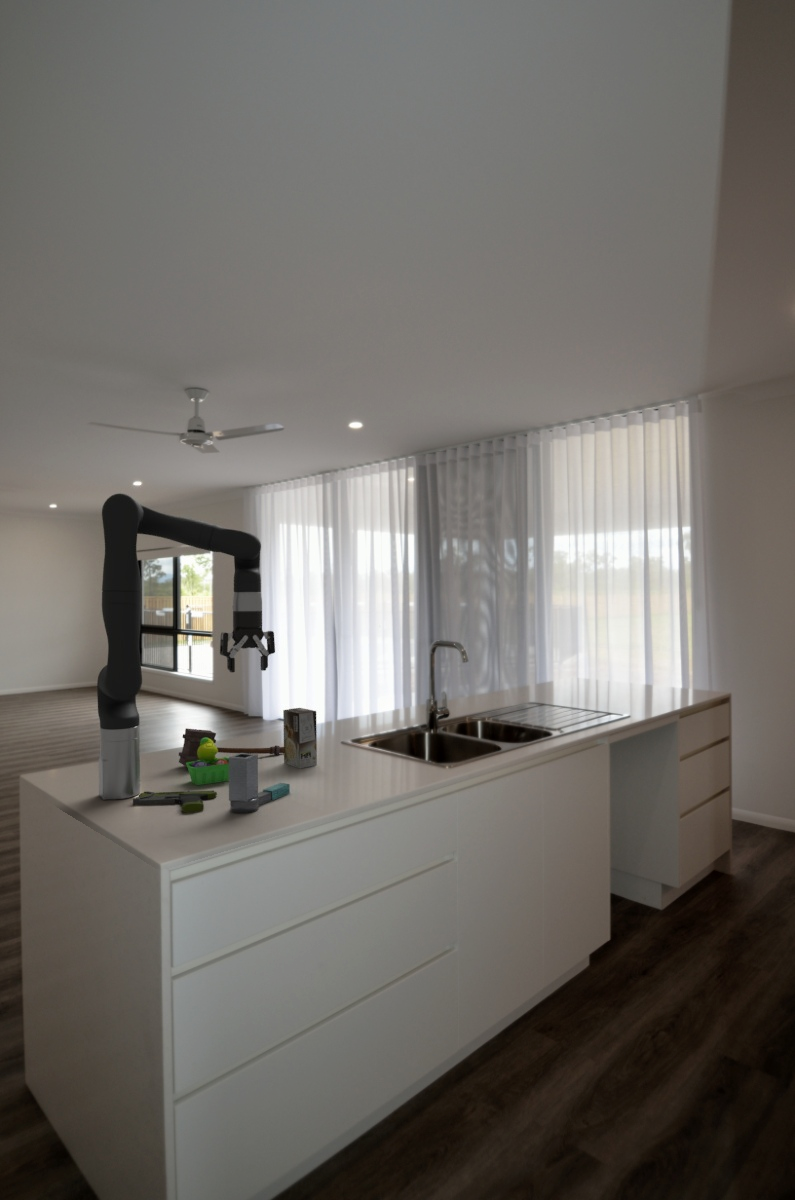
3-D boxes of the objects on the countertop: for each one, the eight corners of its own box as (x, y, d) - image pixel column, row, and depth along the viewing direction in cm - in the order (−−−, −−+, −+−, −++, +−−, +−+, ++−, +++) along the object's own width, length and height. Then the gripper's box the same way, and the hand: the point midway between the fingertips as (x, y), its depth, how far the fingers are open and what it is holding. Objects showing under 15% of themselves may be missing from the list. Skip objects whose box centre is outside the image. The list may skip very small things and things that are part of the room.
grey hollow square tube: (228, 800, 158) (228, 757, 158) (240, 794, 163) (240, 752, 163) (246, 802, 157) (246, 758, 157) (258, 796, 161) (257, 754, 161)
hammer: (176, 761, 202) (182, 727, 203) (276, 767, 220) (282, 736, 221) (183, 766, 196) (190, 731, 197) (286, 772, 214) (291, 740, 215)
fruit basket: (192, 787, 179) (192, 744, 179) (184, 779, 187) (184, 738, 187) (235, 781, 185) (235, 739, 185) (225, 774, 192) (225, 734, 192)
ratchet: (246, 815, 156) (246, 788, 156) (224, 811, 159) (224, 785, 159) (295, 794, 172) (295, 770, 172) (274, 790, 175) (274, 767, 175)
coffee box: (318, 765, 202) (317, 710, 202) (299, 768, 198) (299, 713, 198) (300, 759, 209) (300, 707, 209) (282, 763, 205) (282, 709, 205)
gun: (120, 817, 157) (141, 800, 172) (205, 814, 158) (218, 797, 173) (120, 806, 157) (141, 790, 172) (204, 803, 158) (218, 786, 173)
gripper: (225, 610, 173) (226, 674, 173) (278, 609, 181) (278, 670, 181) (216, 609, 179) (216, 671, 179) (267, 609, 187) (268, 668, 187)
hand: (248, 671), depth 180 cm, fingers open, 8 cm apart
